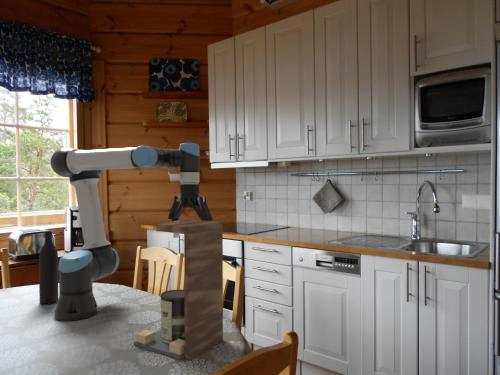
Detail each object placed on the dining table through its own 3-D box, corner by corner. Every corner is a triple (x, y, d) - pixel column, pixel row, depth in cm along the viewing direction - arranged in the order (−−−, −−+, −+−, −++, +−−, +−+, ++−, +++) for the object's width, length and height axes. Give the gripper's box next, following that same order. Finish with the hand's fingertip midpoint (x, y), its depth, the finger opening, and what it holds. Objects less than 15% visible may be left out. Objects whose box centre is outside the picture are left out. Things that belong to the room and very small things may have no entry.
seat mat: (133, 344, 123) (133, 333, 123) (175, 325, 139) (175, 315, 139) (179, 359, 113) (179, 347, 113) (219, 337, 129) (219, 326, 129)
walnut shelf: (157, 349, 120) (156, 224, 119) (191, 332, 133) (191, 219, 133) (190, 359, 113) (189, 227, 112) (222, 340, 126) (222, 221, 126)
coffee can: (197, 332, 130) (197, 290, 130) (186, 345, 120) (186, 299, 120) (168, 330, 132) (168, 288, 132) (155, 342, 122) (154, 297, 122)
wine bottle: (61, 301, 167) (61, 230, 166) (45, 305, 161) (45, 232, 160) (52, 298, 171) (51, 229, 170) (36, 303, 165) (35, 231, 164)
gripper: (221, 183, 148) (221, 240, 149) (172, 183, 161) (172, 235, 162) (209, 183, 142) (209, 242, 142) (158, 183, 155) (159, 237, 155)
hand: (189, 238), depth 152 cm, fingers open, 13 cm apart
